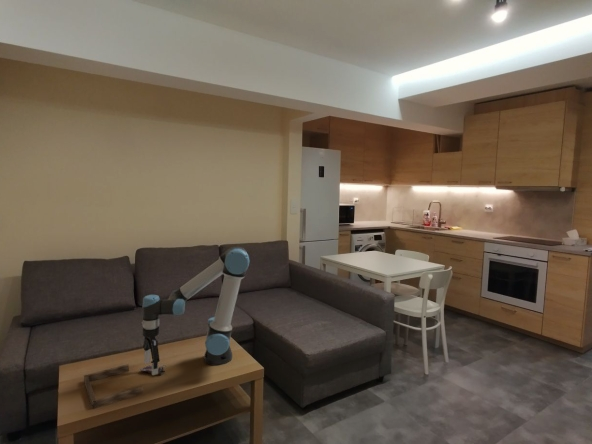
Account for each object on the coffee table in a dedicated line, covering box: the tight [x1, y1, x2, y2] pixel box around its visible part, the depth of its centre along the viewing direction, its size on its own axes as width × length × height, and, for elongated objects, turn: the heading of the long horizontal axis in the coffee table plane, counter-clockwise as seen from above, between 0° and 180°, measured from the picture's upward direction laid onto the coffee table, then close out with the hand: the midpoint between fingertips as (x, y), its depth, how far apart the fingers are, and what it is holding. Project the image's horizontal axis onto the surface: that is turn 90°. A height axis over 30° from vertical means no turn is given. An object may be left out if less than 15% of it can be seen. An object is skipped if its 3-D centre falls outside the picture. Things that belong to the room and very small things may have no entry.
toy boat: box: [139, 364, 167, 376], centre depth 178 cm, size 13×6×4 cm, turn 72°
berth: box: [83, 363, 143, 410], centre depth 164 cm, size 20×27×3 cm
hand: (151, 368), depth 174 cm, fingers open, 13 cm apart
